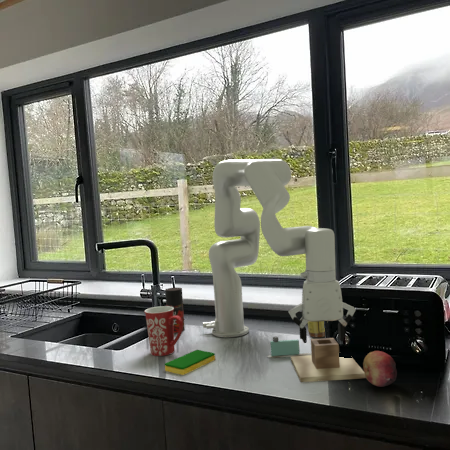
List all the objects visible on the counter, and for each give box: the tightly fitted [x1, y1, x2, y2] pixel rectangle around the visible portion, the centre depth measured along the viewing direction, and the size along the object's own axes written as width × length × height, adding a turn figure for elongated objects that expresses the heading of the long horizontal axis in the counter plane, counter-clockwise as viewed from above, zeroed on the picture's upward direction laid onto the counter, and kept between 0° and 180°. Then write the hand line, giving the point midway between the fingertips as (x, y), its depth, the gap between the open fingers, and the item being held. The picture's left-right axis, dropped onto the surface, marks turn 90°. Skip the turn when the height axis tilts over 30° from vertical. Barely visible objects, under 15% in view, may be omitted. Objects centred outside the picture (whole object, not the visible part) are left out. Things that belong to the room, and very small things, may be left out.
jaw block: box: [310, 337, 340, 369], centre depth 128 cm, size 6×6×6 cm
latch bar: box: [269, 336, 300, 356], centre depth 139 cm, size 8×2×5 cm, turn 91°
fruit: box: [362, 350, 398, 388], centre depth 115 cm, size 8×8×8 cm
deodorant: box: [165, 287, 185, 334], centre depth 174 cm, size 6×6×15 cm
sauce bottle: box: [307, 321, 326, 339], centre depth 157 cm, size 7×6×20 cm
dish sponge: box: [164, 349, 216, 376], centre depth 137 cm, size 7×14×2 cm, turn 142°
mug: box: [144, 305, 183, 357], centre depth 149 cm, size 13×9×14 cm
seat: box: [267, 352, 367, 383], centre depth 130 cm, size 22×21×4 cm
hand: (322, 340), depth 128 cm, fingers open, 9 cm apart
